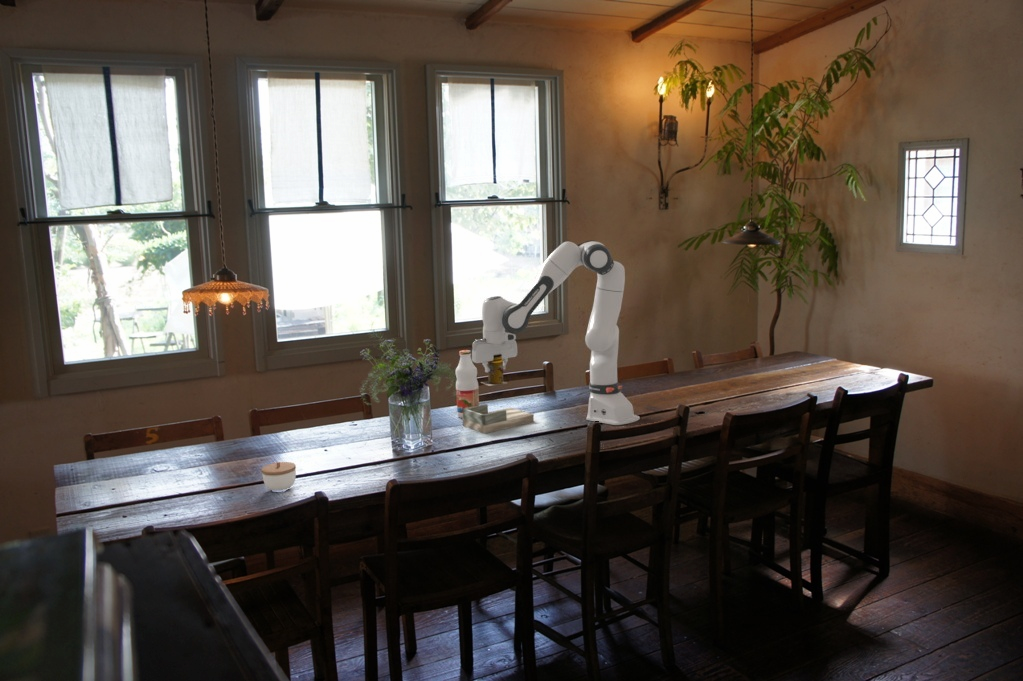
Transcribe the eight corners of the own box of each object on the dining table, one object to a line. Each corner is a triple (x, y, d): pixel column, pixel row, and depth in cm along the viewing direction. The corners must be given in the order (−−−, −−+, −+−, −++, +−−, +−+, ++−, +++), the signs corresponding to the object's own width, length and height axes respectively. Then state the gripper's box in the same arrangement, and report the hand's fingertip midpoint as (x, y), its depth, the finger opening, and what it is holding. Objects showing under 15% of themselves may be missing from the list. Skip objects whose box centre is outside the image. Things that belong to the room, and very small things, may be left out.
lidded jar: (275, 483, 285) (272, 456, 283) (303, 485, 282) (301, 457, 280) (257, 494, 275) (254, 466, 273) (286, 496, 272) (283, 468, 270)
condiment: (507, 383, 343) (506, 354, 341) (489, 386, 339) (488, 356, 337) (498, 380, 349) (497, 351, 347) (480, 383, 345) (479, 354, 343)
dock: (533, 421, 346) (533, 404, 345) (484, 433, 333) (483, 416, 331) (510, 414, 359) (510, 398, 358) (462, 425, 346) (461, 408, 344)
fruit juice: (484, 416, 359) (480, 350, 354) (464, 420, 354) (460, 354, 349) (472, 412, 366) (469, 348, 362) (453, 415, 361) (449, 351, 357)
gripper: (476, 341, 333) (478, 375, 335) (519, 334, 344) (520, 368, 347) (467, 339, 338) (469, 373, 340) (510, 333, 349) (511, 366, 352)
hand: (495, 370), depth 344 cm, fingers closed on condiment, 6 cm apart
